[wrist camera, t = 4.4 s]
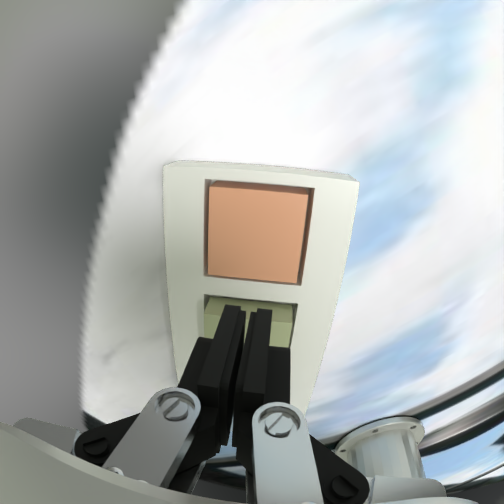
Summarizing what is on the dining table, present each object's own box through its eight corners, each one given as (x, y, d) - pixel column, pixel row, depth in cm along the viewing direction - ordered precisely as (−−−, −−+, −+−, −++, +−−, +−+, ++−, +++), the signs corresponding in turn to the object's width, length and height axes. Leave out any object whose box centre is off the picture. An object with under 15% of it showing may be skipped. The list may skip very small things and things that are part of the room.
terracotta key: (294, 268, 22) (296, 283, 20) (214, 260, 22) (207, 274, 20) (305, 188, 19) (308, 195, 17) (216, 180, 20) (209, 186, 18)
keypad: (299, 406, 29) (300, 428, 26) (189, 394, 30) (183, 415, 27) (348, 174, 20) (359, 182, 17) (178, 160, 20) (163, 166, 18)
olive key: (281, 363, 23) (281, 382, 21) (211, 355, 24) (205, 374, 22) (291, 304, 21) (292, 323, 19) (210, 296, 21) (203, 313, 19)
